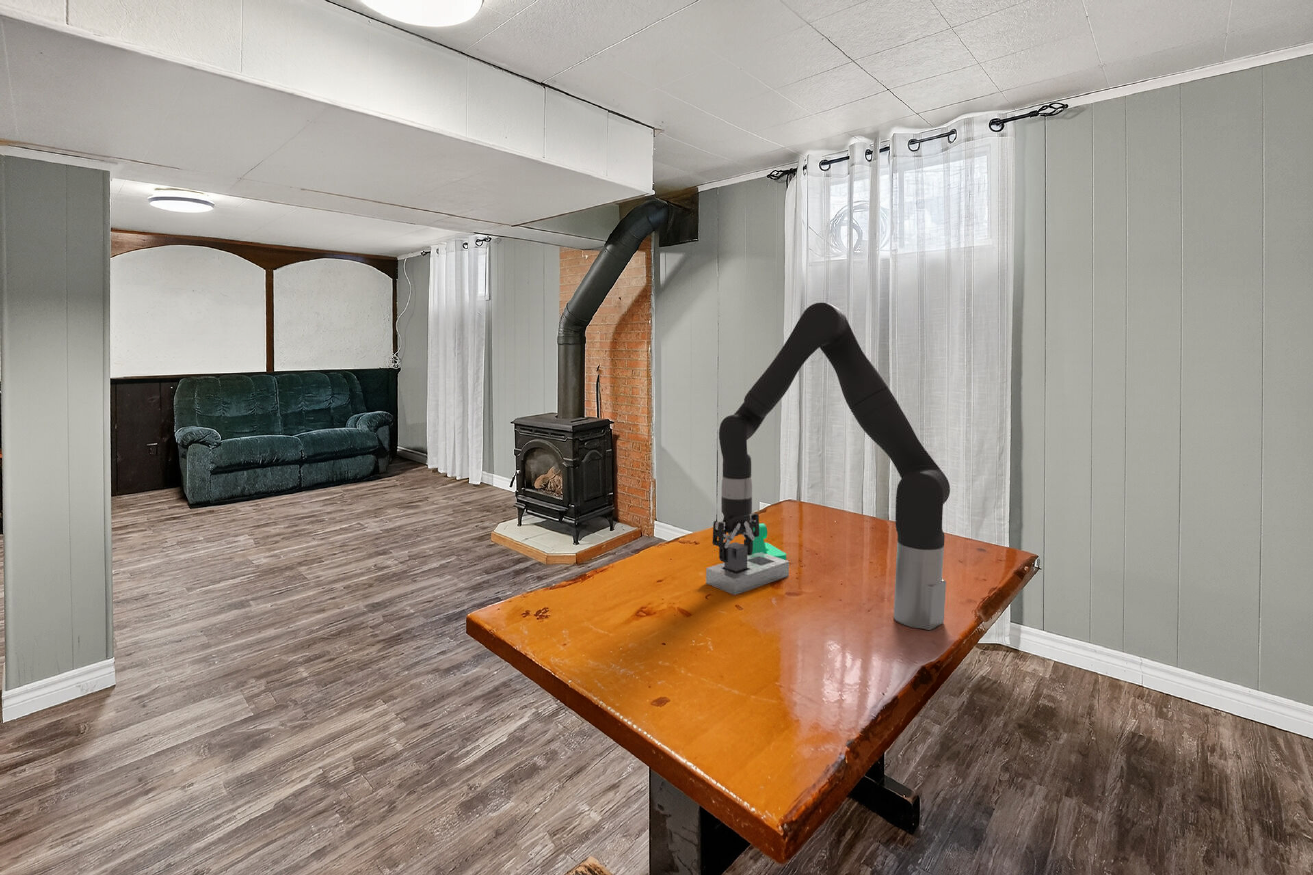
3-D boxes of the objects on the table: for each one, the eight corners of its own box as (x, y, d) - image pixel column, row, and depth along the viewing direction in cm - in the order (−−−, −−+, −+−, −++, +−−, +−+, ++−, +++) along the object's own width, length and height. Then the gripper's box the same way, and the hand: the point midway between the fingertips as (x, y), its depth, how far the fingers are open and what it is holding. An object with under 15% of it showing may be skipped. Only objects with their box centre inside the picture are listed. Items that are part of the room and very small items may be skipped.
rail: (788, 575, 163) (788, 561, 162) (734, 595, 151) (735, 579, 150) (759, 565, 171) (759, 551, 170) (706, 583, 158) (706, 568, 158)
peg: (746, 584, 158) (747, 545, 156) (735, 588, 155) (736, 549, 154) (735, 579, 161) (735, 542, 159) (724, 583, 158) (724, 545, 157)
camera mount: (787, 563, 173) (788, 527, 172) (762, 566, 171) (763, 530, 169) (766, 550, 184) (767, 516, 183) (743, 553, 182) (743, 519, 181)
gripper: (727, 501, 147) (726, 568, 149) (767, 492, 156) (766, 555, 158) (705, 496, 153) (705, 560, 155) (745, 488, 162) (744, 548, 164)
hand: (736, 557), depth 157 cm, fingers open, 8 cm apart
